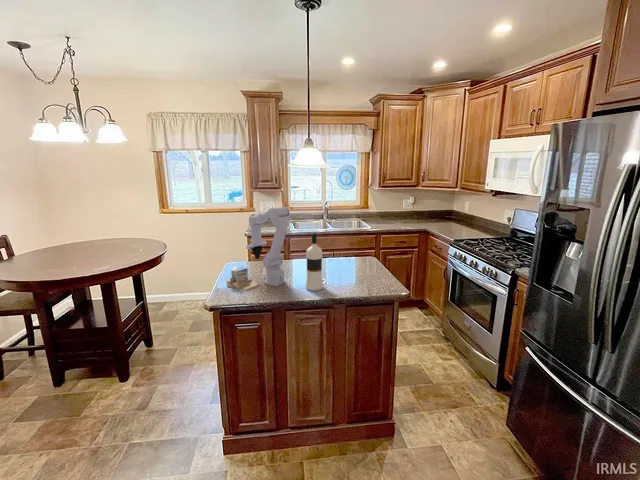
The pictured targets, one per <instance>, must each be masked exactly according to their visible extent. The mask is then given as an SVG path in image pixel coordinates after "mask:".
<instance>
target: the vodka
mask: <svg viewBox="0 0 640 480" xmlns="http://www.w3.org/2000/svg"><path fill="white" fill-rule="evenodd" d="M317 237H318V235H317V233H315V232H313V233H311V246H309V247H308V248H307V249H306V251H305V254H306V256H305V257H306V283H305V288H306V289H307V290H308V291H310V292H311V291H312V292H317V291H321V290H322V289H323V288H324V283H323V249H322V248H321V247H319V246H318V240H317V239H318V238H317Z"/></svg>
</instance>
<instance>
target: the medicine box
mask: <svg viewBox="0 0 640 480" xmlns="http://www.w3.org/2000/svg"><path fill="white" fill-rule="evenodd" d="M230 273H231V278H232V277H234V278H235V282H237V283H240V282H243V281H245V280H248V279H249V275H248V274H249V273H248V267H247V268H246V267H244V266H242V267H239V268H238V267H237V268H236V269H232V270H231V271H230Z"/></svg>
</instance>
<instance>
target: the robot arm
mask: <svg viewBox="0 0 640 480" xmlns="http://www.w3.org/2000/svg"><path fill="white" fill-rule="evenodd" d="M290 218H291V211H290V209H289V207H288V206H281V207H270V208H268V210H266V211H265V212H264V211H262V210H260V211H258V213H256V214H254V215H250V216H249V217H248V224H249V226H250V234H251V236H250V237H251V243H250V244H248V245H246V248H245V249H246V250H251V251H252V252H253V255H254V257H255V259H256V260H260V256H261V253H262V251H263V249H264V247H263V246H264V245H265V246H266V245H267V244H268V243H267V241H265V240H263V241H262V228H263V223H265V222H267V221H268V219H269V220H270V222H271V223H272V226H274V227H276V228H275V232H274V235H273V239H272V241H271V242H272V243H271V246H270V250H269V251H268V252H266V253H265V255H264V257H263V258H262V265H263V267H264V269H266V270H265V271H266V280H265V281H263V284H265V285H266V284H267V285H270V286H274V287H278V286H281V285H282V284H284V283H286V281H285V270H284V269H282V268H281V266H282V264H283V259H284V258H283V257H284V255H283V253H282V252H281V251H282V247H283V245H284V244H283V243H284V239H285V237H286V233H287V231H288V224H289V222H290Z"/></svg>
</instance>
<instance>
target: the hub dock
mask: <svg viewBox="0 0 640 480" xmlns="http://www.w3.org/2000/svg"><path fill="white" fill-rule="evenodd" d="M226 286H227V287H230V288H232V289H236V290H242V291H245V292H247V291H249V290H252V289H255V288H257V287H259V286H260V283H259V282H256V281H253V279H252V278H248V280H245V281H243V282H240V283H237V282H235V278H234V277H232V276H231V277H230V278H229V279H227V280H226Z"/></svg>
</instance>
